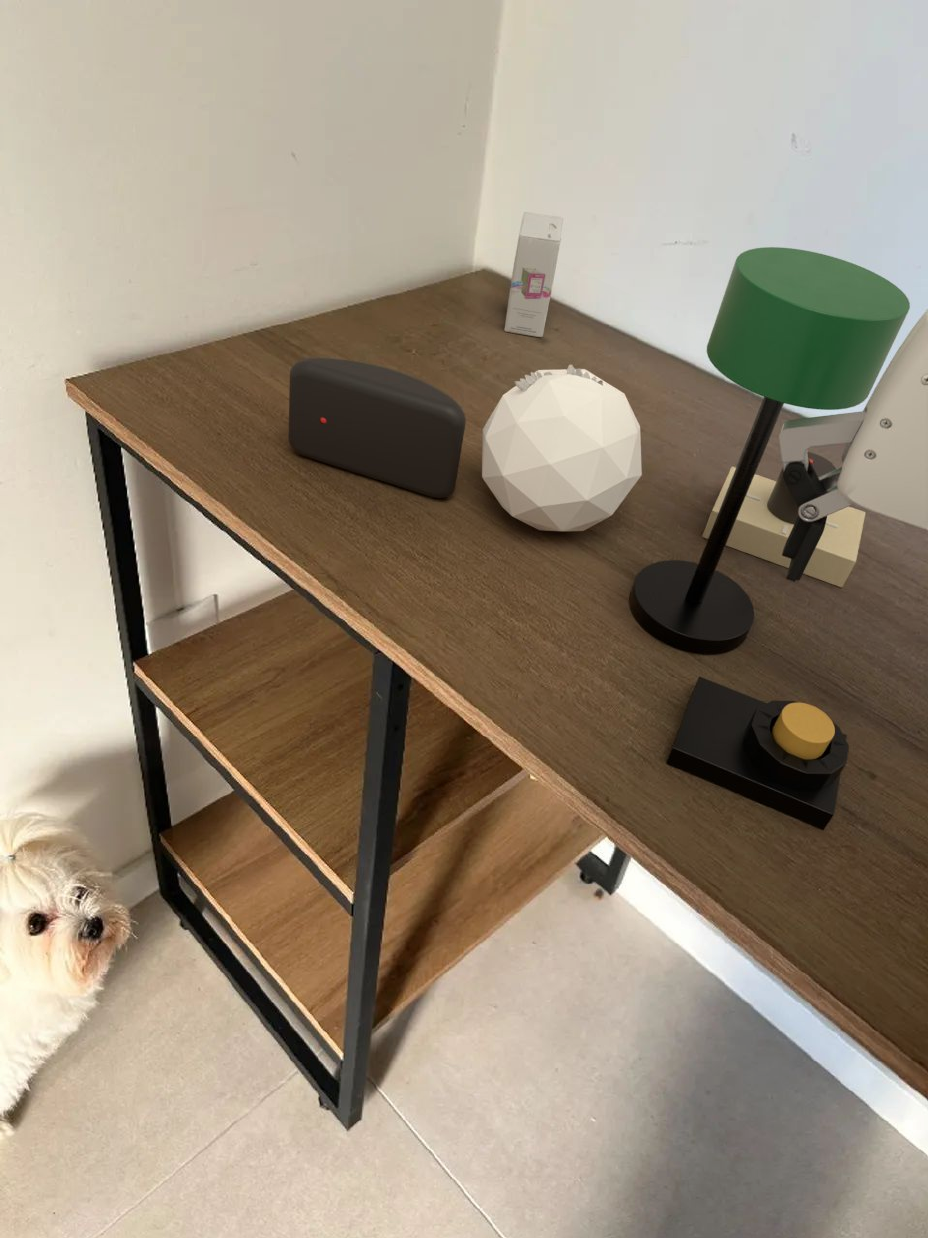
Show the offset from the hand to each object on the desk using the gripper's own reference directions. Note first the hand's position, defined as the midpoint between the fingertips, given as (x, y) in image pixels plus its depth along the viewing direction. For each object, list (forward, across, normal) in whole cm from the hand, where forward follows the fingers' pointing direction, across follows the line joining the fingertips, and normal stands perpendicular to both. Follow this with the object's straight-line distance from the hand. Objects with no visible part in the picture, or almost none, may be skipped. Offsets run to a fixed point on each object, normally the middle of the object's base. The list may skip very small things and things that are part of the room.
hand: (876, 597), depth 54 cm
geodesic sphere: (+16, +24, -20) cm, 36 cm away
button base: (+16, +2, -1) cm, 16 cm away
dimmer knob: (+13, +4, -30) cm, 33 cm away
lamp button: (+13, 0, -1) cm, 13 cm away
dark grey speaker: (+16, +40, -16) cm, 47 cm away
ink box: (+16, +41, -58) cm, 73 cm away
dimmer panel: (+16, +4, -30) cm, 34 cm away
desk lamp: (+16, +10, -14) cm, 23 cm away
